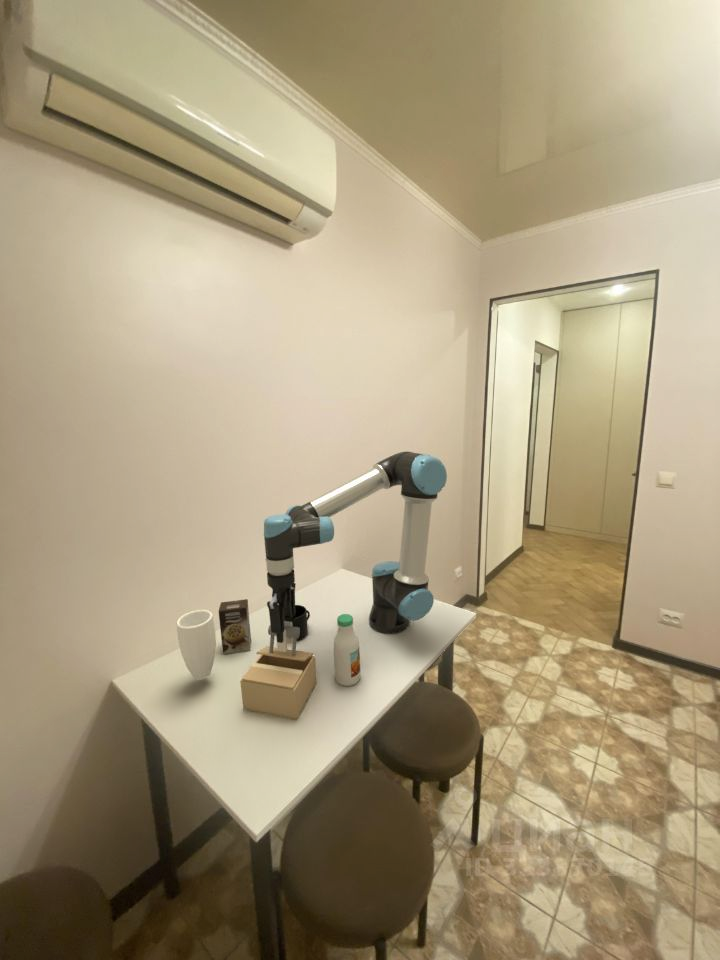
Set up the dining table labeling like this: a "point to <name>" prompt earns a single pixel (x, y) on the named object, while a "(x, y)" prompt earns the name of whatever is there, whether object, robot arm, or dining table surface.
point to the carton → (278, 686)
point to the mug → (301, 620)
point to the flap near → (290, 654)
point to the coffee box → (235, 626)
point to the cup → (197, 642)
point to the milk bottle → (346, 652)
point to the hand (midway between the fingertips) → (285, 646)
